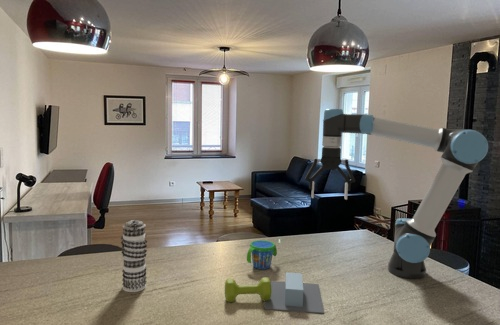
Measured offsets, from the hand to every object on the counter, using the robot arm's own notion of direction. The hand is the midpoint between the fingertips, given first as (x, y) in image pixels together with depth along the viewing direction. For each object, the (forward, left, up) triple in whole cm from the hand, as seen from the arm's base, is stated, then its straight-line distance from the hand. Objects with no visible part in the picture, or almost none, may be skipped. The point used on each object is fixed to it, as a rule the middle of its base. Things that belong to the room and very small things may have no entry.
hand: (329, 198), depth 158 cm
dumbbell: (+30, +30, -32) cm, 53 cm away
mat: (+14, +25, -32) cm, 43 cm away
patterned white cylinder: (+73, +26, -32) cm, 84 cm away
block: (+14, +33, -28) cm, 46 cm away
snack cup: (+27, -1, -32) cm, 42 cm away
